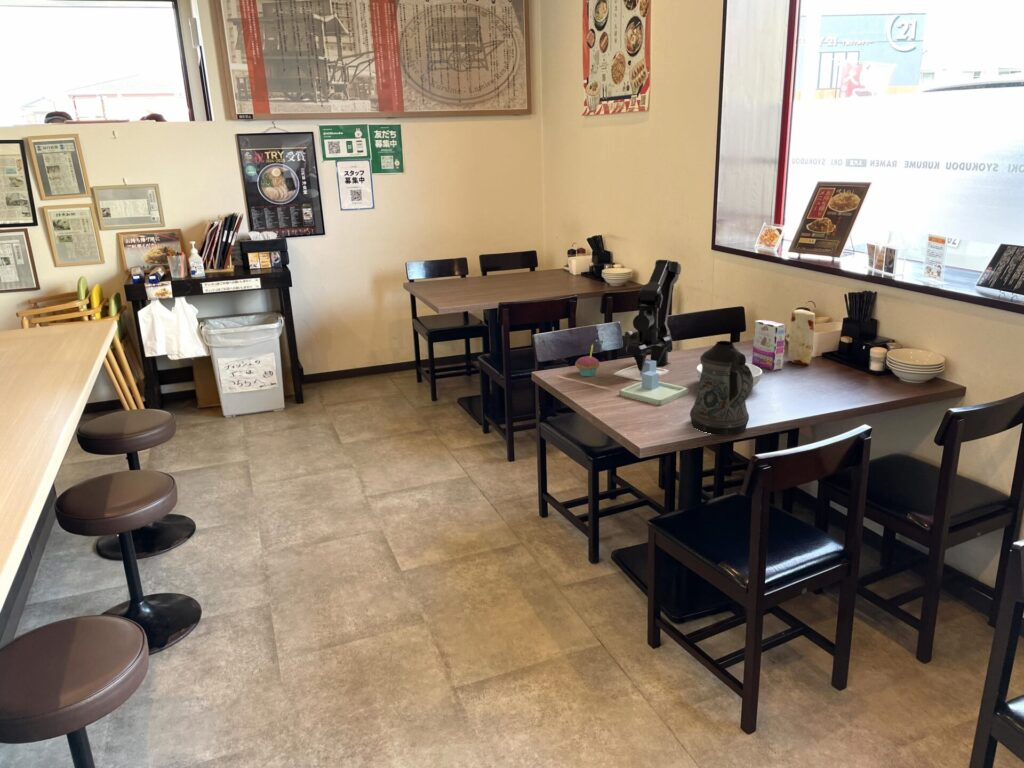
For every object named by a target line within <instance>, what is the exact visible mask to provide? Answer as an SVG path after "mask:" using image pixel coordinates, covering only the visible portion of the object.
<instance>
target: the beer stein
mask: <svg viewBox="0 0 1024 768" xmlns="http://www.w3.org/2000/svg"><path fill="white" fill-rule="evenodd" d="M734 345H735V344H734V343H733V341H729V340H719V341H716V342H715V344H714V345H713V346H712V347H710V348H708V350H706V351H705V352H703V353H702V354H701V356H700V359H699V361H700V364H702V372H701V377H700V380H699V383H698V388H697V394H696V397H695V399H694V400H695V401H694V403H693V406H692V408H691V409H690V412H689V418H690V424H692V425H691V426H692V427H693V429H694V428H696V429H698V430H697V431H699V430H700V431H699V432H701V431H703V432H707V433H706V434H708V433H711V434H710V435H715V436H716V435H717V436H731V435H737V434H741V433H742V432H744V431H746V429H747V426H748V423H749V420H750V415H749V412H748V409H747V403H746V402H747V401H746V400H747V399H748V398H749V397H750V395H751V393H752V391H753V388H754V387H753V376H752V373H751V371H750V369H749V367H748V366H747V365H745V363H747V358H746V356H745V354H743V353H742V352H741V351H739V349H737V348H736V346H734ZM696 429H695V430H696ZM703 432H702V433H703Z"/></svg>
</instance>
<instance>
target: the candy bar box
mask: <svg viewBox="0 0 1024 768" xmlns="http://www.w3.org/2000/svg"><path fill="white" fill-rule="evenodd" d="M786 336H787V324H784V323H780V322H777V321H776V322H775V321H771V320H769V319H759V320H754V330H753V342H752V343H753V345H752V359H751V365H754V364H755V365H754V366H757V365H758V366H757V367H760V366H761V368H763V367H764V368H763V369H766V368H767V370H769V369H770V370H769V371H772V370H773V372H774V370H776V371H780V370H779V369H781V370H783V369H784V362H785V361H784V360H785V359H784V358H785V350H786V349H785V348H786V347H785V346H786V338H787V337H786Z"/></svg>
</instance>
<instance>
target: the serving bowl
mask: <svg viewBox="0 0 1024 768" xmlns="http://www.w3.org/2000/svg"><path fill="white" fill-rule="evenodd" d="M745 365H747V366H748V367H749V369H750V371H751V373H752V376H753V387H752V388H754V387H756V386H757V385H758V384H759V382H760V381H761V378H762V374H763V370H762V369H761V368H760V366H757V365H754V364H752V363H747V362H746V363H745ZM701 372H702V364H701V363H700V364H698V365H697V366H696V374H697V377H698V381H700V377H701Z"/></svg>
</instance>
